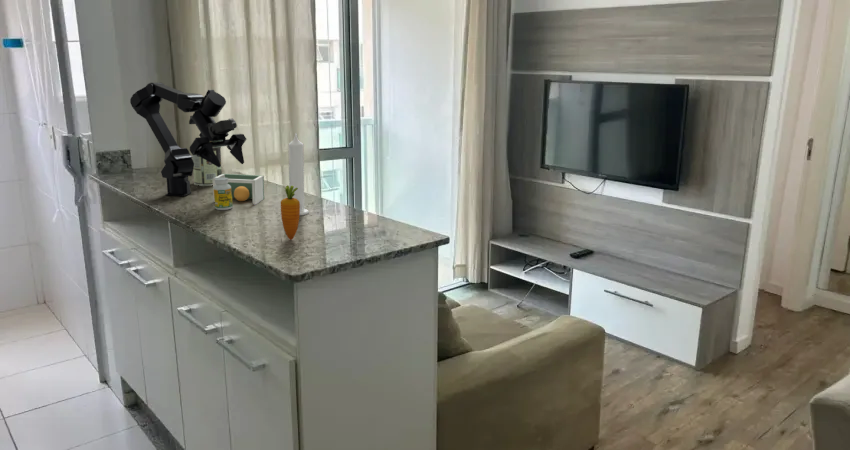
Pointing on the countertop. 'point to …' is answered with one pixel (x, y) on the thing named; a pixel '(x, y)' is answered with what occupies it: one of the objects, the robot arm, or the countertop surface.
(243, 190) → the ball
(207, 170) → the coffee can
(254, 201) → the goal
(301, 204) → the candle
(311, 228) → the countertop surface
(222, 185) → the supplement bottle
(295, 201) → the carrot
